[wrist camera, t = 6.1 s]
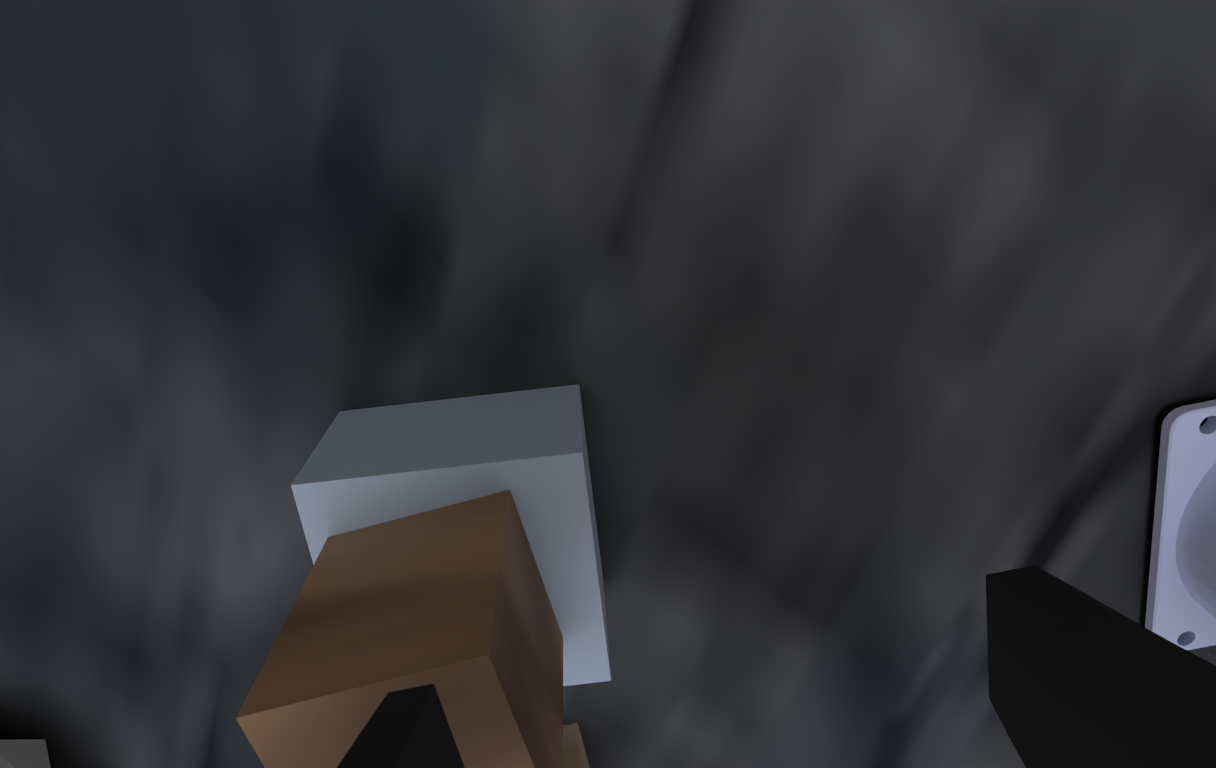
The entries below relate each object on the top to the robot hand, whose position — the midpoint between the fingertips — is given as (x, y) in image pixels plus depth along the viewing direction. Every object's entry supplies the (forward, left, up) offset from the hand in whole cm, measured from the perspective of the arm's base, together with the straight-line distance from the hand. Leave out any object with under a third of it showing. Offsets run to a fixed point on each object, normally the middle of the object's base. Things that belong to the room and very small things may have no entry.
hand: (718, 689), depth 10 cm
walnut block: (+5, +2, -7) cm, 9 cm away
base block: (+5, +2, -11) cm, 12 cm away
